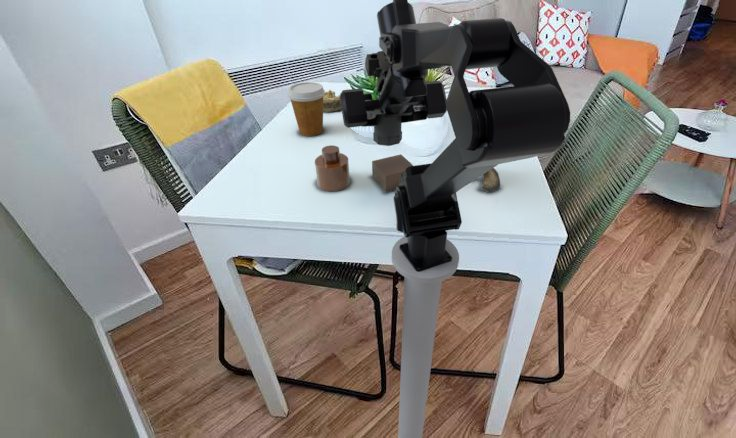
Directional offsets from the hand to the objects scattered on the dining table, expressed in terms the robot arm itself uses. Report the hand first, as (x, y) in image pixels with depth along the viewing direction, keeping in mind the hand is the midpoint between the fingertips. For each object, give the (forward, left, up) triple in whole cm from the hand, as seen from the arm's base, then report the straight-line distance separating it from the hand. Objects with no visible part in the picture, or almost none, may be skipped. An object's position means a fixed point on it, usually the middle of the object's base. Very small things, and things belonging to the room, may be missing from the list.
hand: (386, 122), depth 75 cm
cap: (-1, 0, -3) cm, 3 cm away
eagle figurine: (-10, -18, -13) cm, 24 cm away
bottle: (+3, +11, -13) cm, 17 cm away
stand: (-2, -1, -13) cm, 13 cm away
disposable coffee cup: (+31, +8, -13) cm, 34 cm away
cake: (+46, -3, -13) cm, 48 cm away
